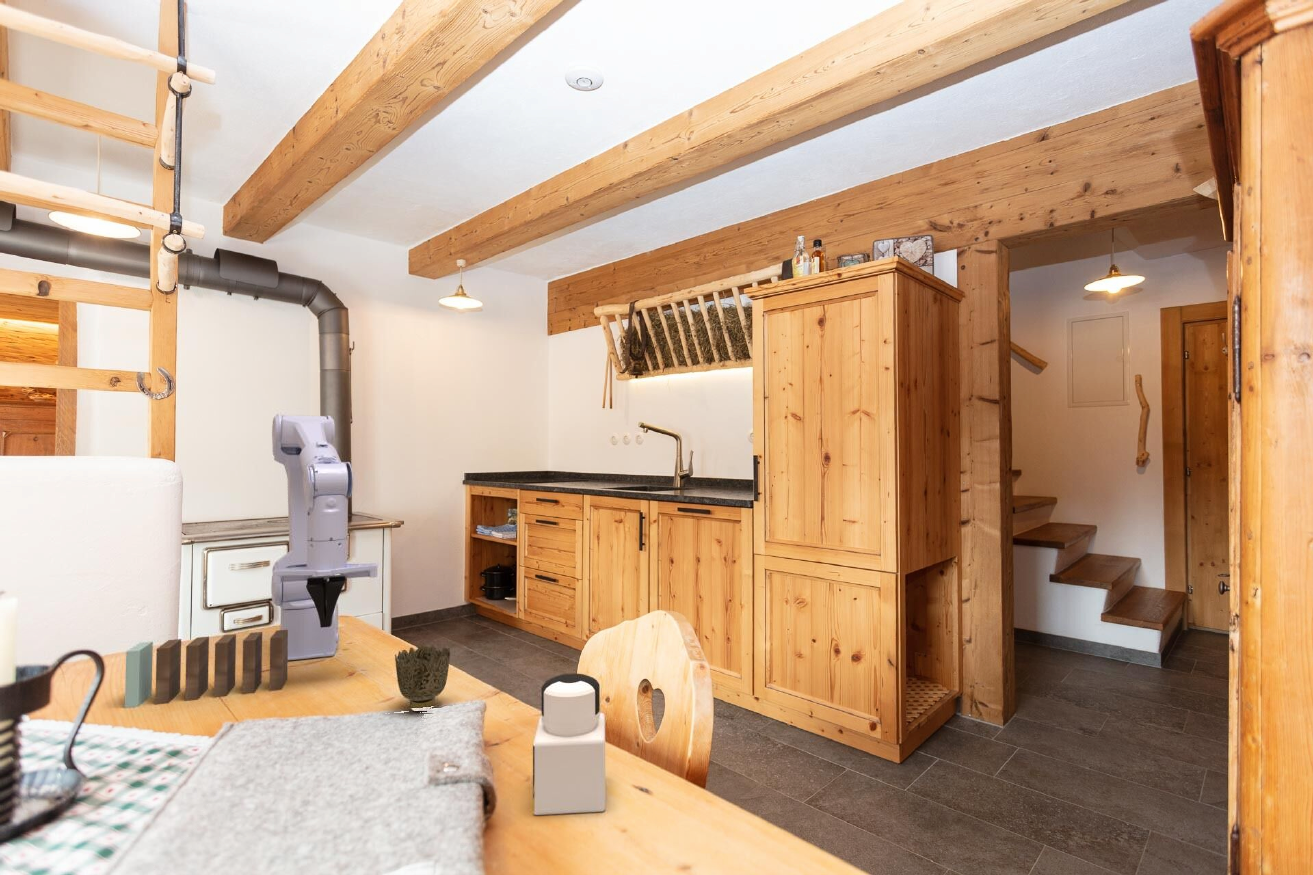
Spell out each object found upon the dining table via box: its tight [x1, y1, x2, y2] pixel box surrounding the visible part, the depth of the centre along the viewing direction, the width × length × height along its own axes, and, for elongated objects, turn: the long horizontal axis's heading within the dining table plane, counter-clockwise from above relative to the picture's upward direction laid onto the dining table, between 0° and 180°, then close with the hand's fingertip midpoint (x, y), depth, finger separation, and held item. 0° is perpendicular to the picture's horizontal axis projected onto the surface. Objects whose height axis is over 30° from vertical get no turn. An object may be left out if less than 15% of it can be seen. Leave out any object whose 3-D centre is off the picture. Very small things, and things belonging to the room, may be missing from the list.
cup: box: [394, 644, 452, 709], centre depth 90 cm, size 8×7×8 cm
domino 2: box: [154, 638, 182, 705], centre depth 95 cm, size 2×5×8 cm, turn 21°
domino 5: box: [241, 631, 263, 695], centre depth 99 cm, size 2×5×8 cm, turn 21°
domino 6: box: [269, 629, 289, 692], centre depth 101 cm, size 2×5×8 cm, turn 21°
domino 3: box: [184, 636, 210, 702], centre depth 97 cm, size 2×5×8 cm, turn 21°
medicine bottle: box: [532, 673, 607, 816], centre depth 67 cm, size 7×7×12 cm
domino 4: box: [213, 633, 237, 699], centre depth 98 cm, size 2×5×8 cm, turn 21°
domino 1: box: [124, 641, 154, 709], centre depth 94 cm, size 2×5×8 cm, turn 21°
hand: (326, 625), depth 100 cm, fingers closed
